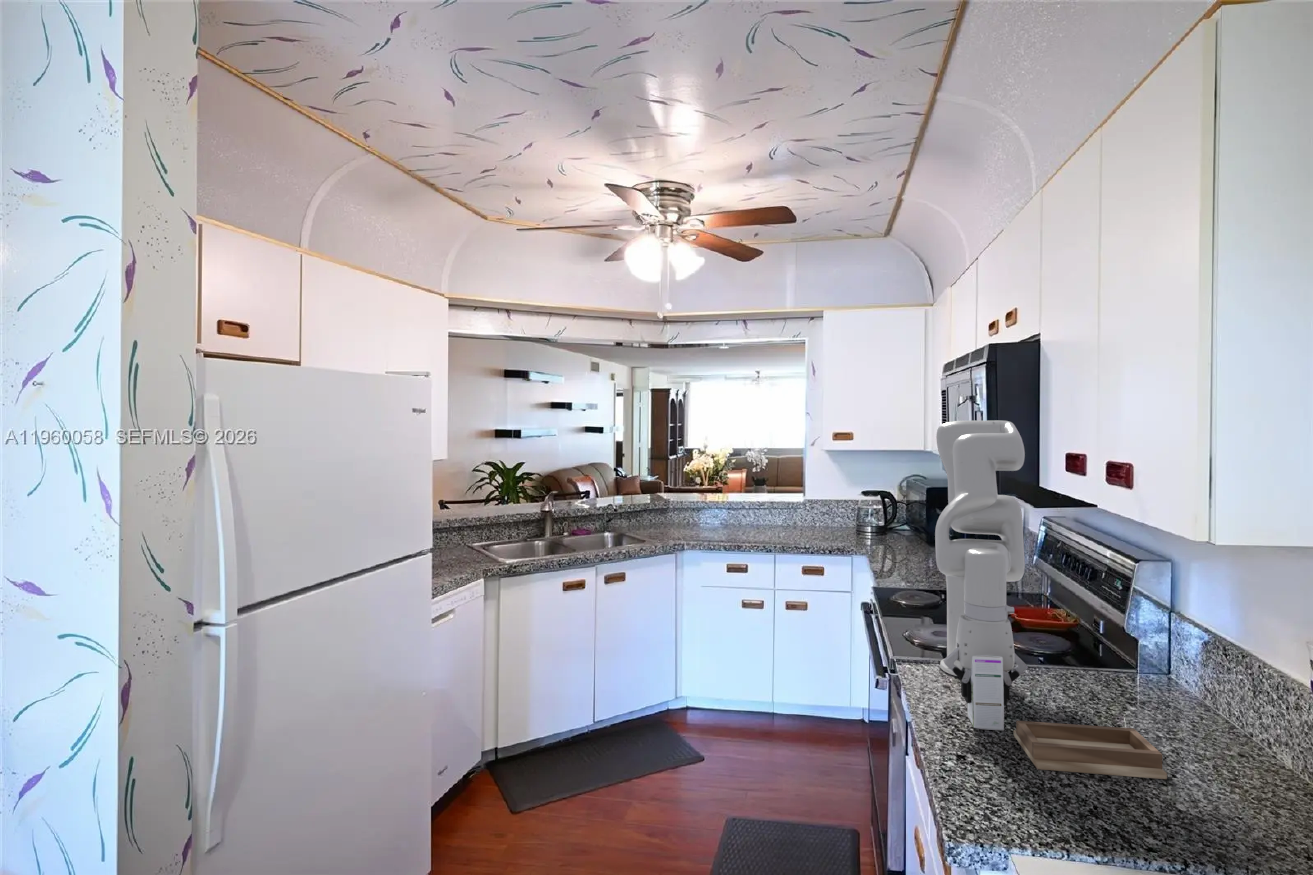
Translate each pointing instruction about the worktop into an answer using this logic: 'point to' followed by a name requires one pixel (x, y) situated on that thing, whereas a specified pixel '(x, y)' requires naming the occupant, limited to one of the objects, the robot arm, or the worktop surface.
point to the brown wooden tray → (1089, 749)
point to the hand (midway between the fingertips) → (984, 700)
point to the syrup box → (986, 693)
